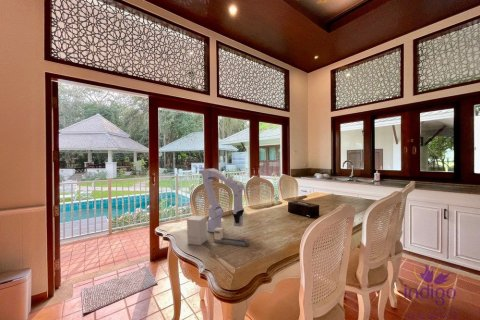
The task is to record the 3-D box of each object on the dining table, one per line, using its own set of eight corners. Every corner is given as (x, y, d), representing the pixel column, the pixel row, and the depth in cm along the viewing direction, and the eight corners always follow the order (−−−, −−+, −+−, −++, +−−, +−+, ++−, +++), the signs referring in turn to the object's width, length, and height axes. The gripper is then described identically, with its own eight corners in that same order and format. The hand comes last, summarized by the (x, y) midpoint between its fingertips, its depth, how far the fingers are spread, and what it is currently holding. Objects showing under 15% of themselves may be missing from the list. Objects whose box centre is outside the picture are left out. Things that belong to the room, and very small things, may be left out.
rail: (213, 242, 126) (213, 237, 126) (216, 239, 130) (216, 234, 130) (246, 246, 120) (246, 241, 120) (248, 243, 124) (248, 238, 124)
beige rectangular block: (214, 239, 126) (214, 229, 126) (217, 236, 130) (217, 227, 130) (220, 240, 125) (220, 230, 125) (223, 237, 129) (222, 227, 129)
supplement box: (207, 239, 130) (207, 216, 130) (200, 245, 122) (199, 220, 122) (194, 238, 133) (194, 215, 133) (187, 243, 125) (186, 219, 125)
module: (233, 226, 135) (233, 216, 135) (236, 224, 139) (236, 215, 139) (241, 226, 134) (241, 217, 134) (243, 224, 138) (243, 215, 138)
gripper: (240, 204, 128) (240, 226, 129) (247, 199, 142) (247, 219, 142) (229, 203, 130) (230, 225, 131) (237, 198, 144) (237, 218, 145)
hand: (238, 222), depth 137 cm, fingers closed on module, 4 cm apart
